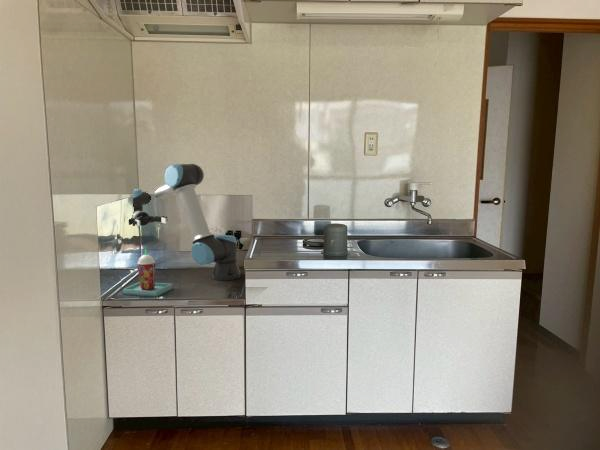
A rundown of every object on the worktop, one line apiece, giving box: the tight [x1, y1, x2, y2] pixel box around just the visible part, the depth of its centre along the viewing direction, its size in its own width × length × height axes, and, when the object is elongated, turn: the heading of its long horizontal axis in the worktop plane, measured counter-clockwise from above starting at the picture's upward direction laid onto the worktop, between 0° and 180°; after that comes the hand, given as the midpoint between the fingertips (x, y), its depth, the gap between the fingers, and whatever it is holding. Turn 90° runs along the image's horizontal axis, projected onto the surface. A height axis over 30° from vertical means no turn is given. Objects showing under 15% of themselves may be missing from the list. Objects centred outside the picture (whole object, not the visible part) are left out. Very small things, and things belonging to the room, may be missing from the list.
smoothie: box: [136, 248, 156, 291], centre depth 220 cm, size 8×8×20 cm
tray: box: [122, 281, 173, 298], centre depth 222 cm, size 18×14×2 cm
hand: (153, 222), depth 234 cm, fingers open, 13 cm apart
